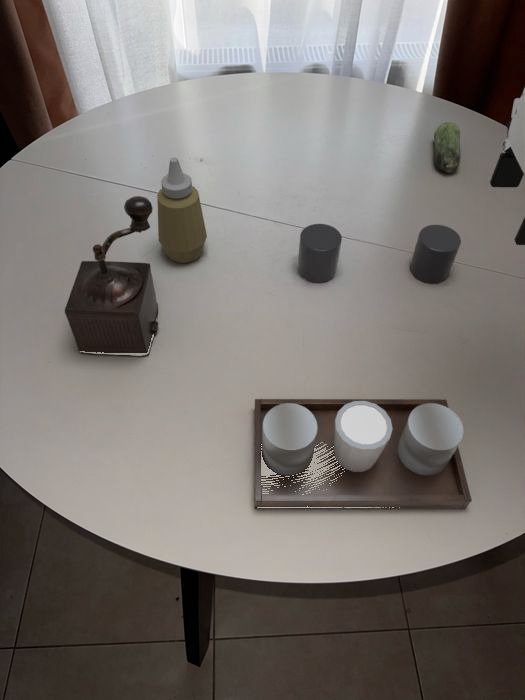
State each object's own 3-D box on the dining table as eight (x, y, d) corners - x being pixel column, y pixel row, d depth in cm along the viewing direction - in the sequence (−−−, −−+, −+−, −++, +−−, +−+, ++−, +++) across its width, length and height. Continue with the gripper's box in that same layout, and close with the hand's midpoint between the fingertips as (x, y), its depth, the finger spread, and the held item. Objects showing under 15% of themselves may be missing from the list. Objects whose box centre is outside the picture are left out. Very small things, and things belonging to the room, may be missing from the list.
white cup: (357, 420, 78) (365, 390, 72) (393, 458, 74) (404, 429, 69) (318, 446, 75) (323, 418, 70) (353, 486, 72) (361, 459, 66)
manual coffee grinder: (153, 358, 85) (134, 267, 71) (78, 354, 85) (44, 263, 71) (168, 283, 95) (154, 190, 81) (100, 280, 95) (75, 187, 81)
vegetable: (431, 138, 123) (437, 116, 119) (456, 141, 123) (463, 119, 119) (431, 176, 114) (437, 154, 111) (458, 179, 114) (465, 157, 110)
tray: (442, 408, 80) (457, 377, 74) (466, 508, 71) (485, 481, 65) (254, 408, 80) (255, 376, 74) (254, 509, 71) (255, 481, 65)
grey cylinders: (444, 256, 100) (456, 224, 94) (453, 283, 96) (465, 251, 90) (296, 255, 99) (299, 223, 94) (298, 283, 95) (301, 250, 90)
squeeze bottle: (210, 237, 102) (204, 145, 88) (205, 269, 97) (198, 177, 83) (164, 235, 102) (150, 143, 88) (157, 267, 97) (142, 174, 83)
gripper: (678, 102, 44) (578, 269, 57) (594, 8, 55) (526, 166, 68) (580, 101, 44) (502, 268, 57) (515, 7, 54) (463, 166, 68)
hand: (515, 213), depth 62 cm, fingers open, 9 cm apart
